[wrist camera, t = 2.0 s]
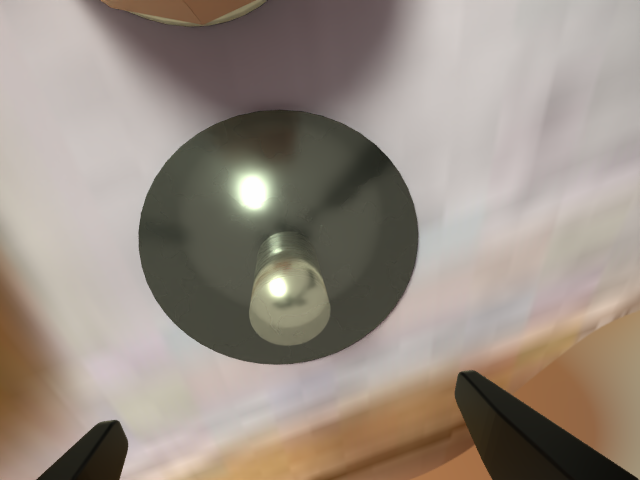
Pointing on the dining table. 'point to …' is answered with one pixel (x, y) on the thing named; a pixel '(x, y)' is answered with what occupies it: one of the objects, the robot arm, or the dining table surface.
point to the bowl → (187, 10)
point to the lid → (278, 237)
